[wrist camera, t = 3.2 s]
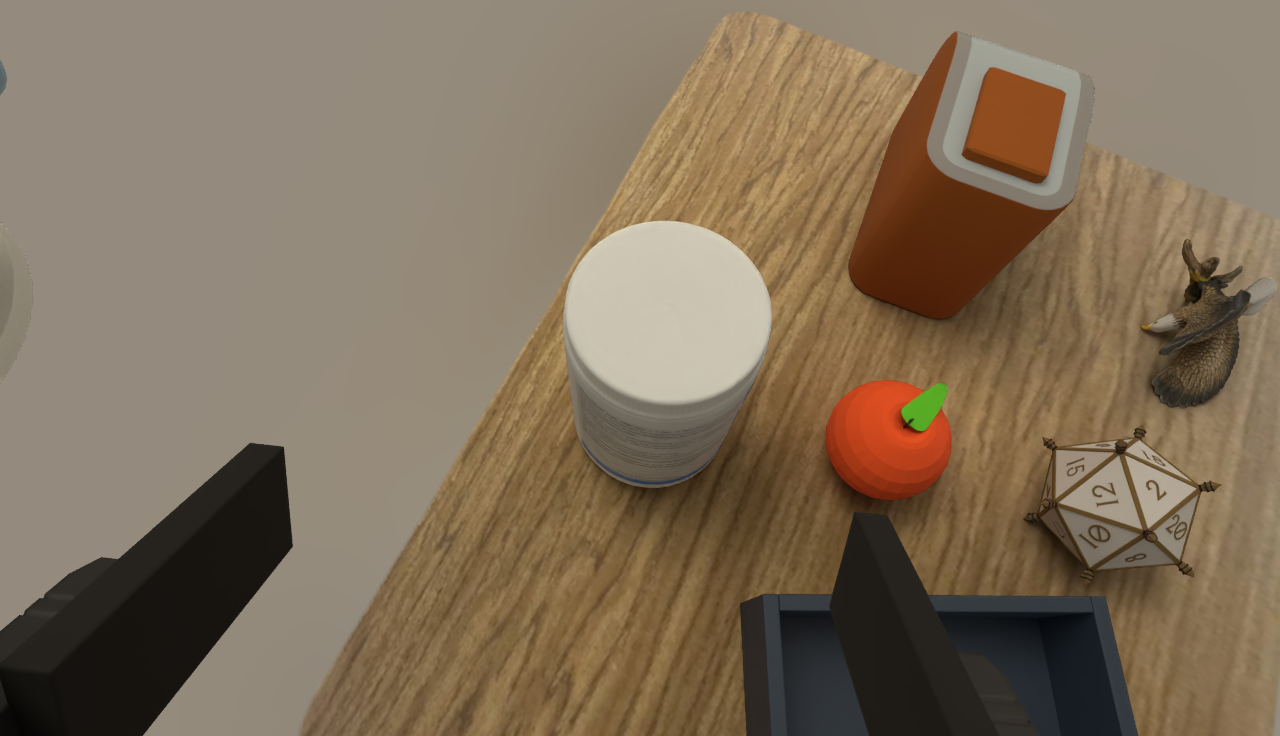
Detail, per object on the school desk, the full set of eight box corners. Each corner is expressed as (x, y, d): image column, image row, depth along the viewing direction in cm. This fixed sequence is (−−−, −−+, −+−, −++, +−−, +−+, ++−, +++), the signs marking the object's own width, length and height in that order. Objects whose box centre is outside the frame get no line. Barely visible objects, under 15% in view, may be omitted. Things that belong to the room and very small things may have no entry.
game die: (1059, 513, 48) (1243, 482, 41) (1058, 623, 42) (1272, 608, 35) (990, 421, 45) (1175, 370, 38) (980, 525, 39) (1194, 487, 33)
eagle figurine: (1117, 260, 50) (1120, 358, 45) (1244, 218, 44) (1264, 324, 40) (1164, 326, 53) (1172, 425, 48) (1289, 294, 47) (1312, 402, 43)
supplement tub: (749, 457, 44) (817, 366, 30) (607, 515, 42) (611, 446, 29) (686, 326, 47) (721, 190, 34) (550, 374, 45) (531, 252, 32)
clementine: (869, 372, 47) (914, 325, 40) (952, 448, 45) (1013, 411, 38) (788, 452, 44) (821, 415, 38) (873, 535, 43) (923, 511, 36)
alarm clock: (959, 330, 48) (1086, 215, 36) (840, 285, 49) (923, 157, 37) (1000, 168, 54) (1123, 19, 41) (892, 130, 55) (981, -28, 42)
